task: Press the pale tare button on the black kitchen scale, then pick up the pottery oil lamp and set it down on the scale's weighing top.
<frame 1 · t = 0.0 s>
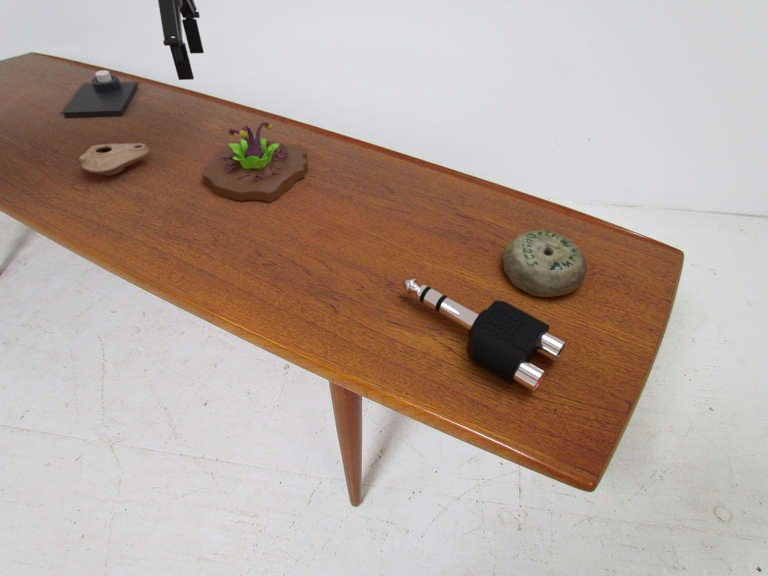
hand: (192, 65, 102), 16 cm above the table, tool pointing down, fingers open, 13 cm apart
audio adapter: (467, 332, 74), on the table
pottery oil lamp: (120, 170, 103), on the table
plant: (256, 174, 103), on the table
weight: (540, 272, 83), on the table
scale: (103, 102, 124), on the table
tare button: (103, 76, 125), point 4 cm above the table, slide at 0.1 cm
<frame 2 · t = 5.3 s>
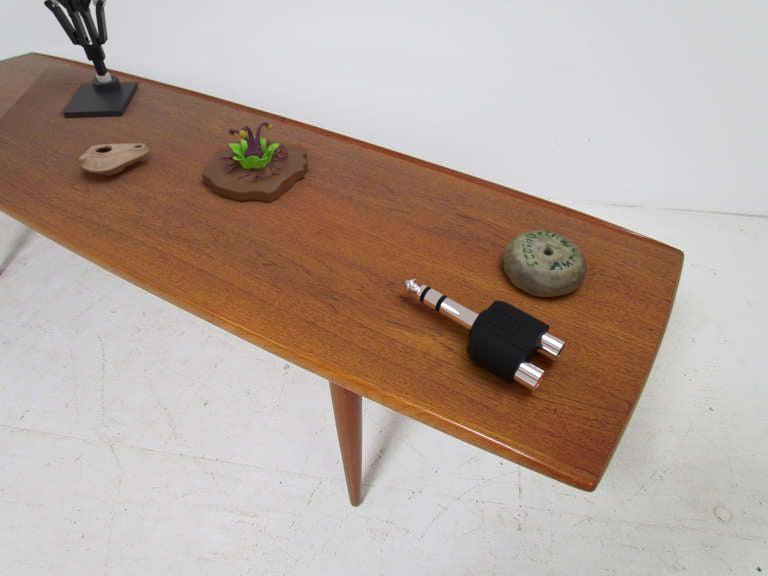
hand: (102, 73, 124), 5 cm above the table, tool pointing down, fingers closed
tare button: (104, 78, 125), point 4 cm above the table, slide at -0.3 cm, touching gripper
everything else where it was.
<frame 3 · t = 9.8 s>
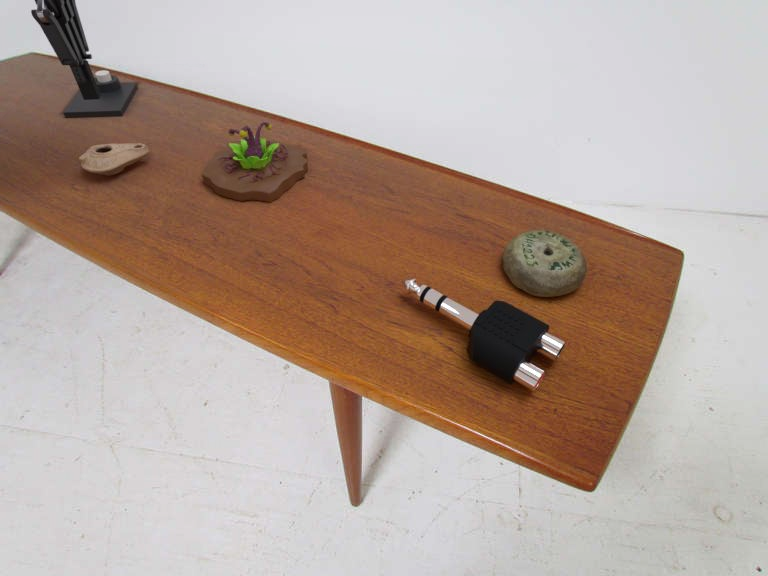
hand: (92, 97, 93), 15 cm above the table, tool pointing down, fingers closed
tare button: (103, 76, 125), point 4 cm above the table, slide at 0.1 cm
everything else where it was.
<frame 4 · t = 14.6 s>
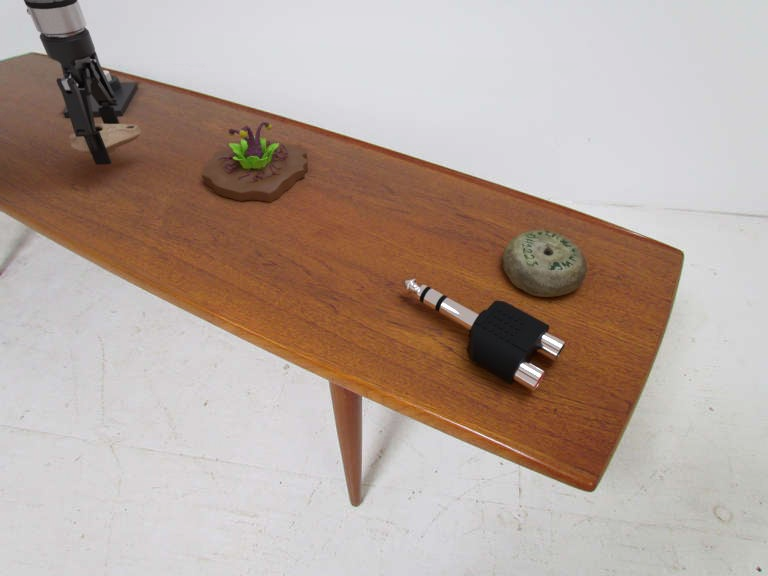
hand: (110, 150, 100), 4 cm above the table, tool pointing down, fingers closed on pottery oil lamp, 9 cm apart
pottery oil lamp: (111, 151, 100), point 4 cm above the table, touching gripper
everything else where it was.
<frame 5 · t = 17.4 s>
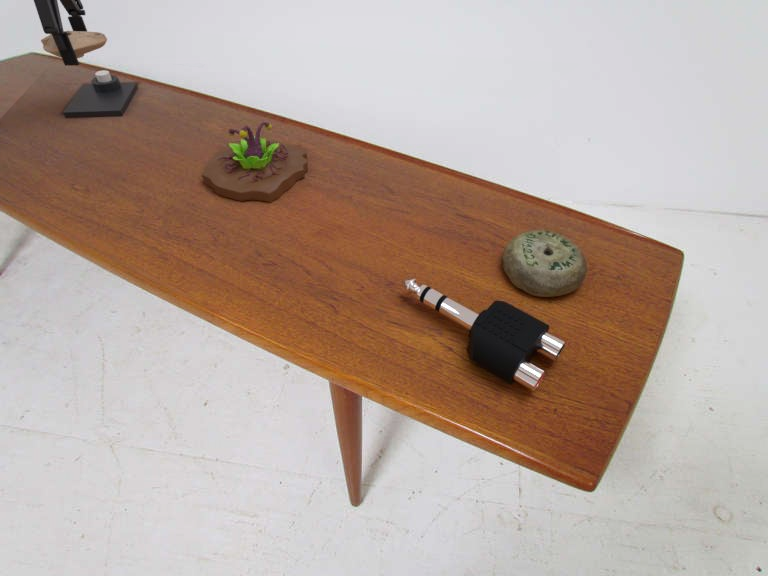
hand: (79, 56, 111), 13 cm above the table, tool pointing down, fingers closed on pottery oil lamp, 9 cm apart
pottery oil lamp: (80, 57, 111), point 13 cm above the table, touching gripper
everything else where it was.
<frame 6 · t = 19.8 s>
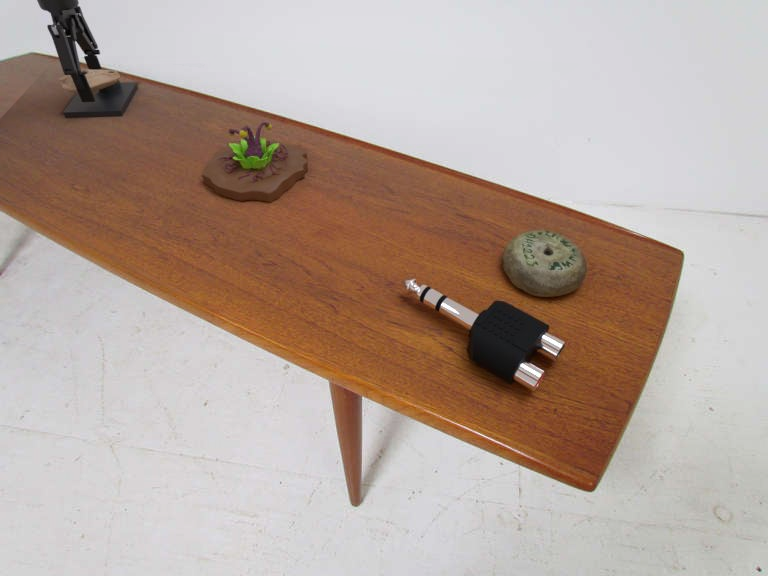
hand: (95, 92, 120), 4 cm above the table, tool pointing down, fingers closed on pottery oil lamp, 9 cm apart
pottery oil lamp: (96, 93, 120), point 3 cm above the table, touching gripper
everything else where it was.
when the fingers open (4 cm above the table, at t = 20.7 s): pottery oil lamp drops 2 cm, resting on scale.
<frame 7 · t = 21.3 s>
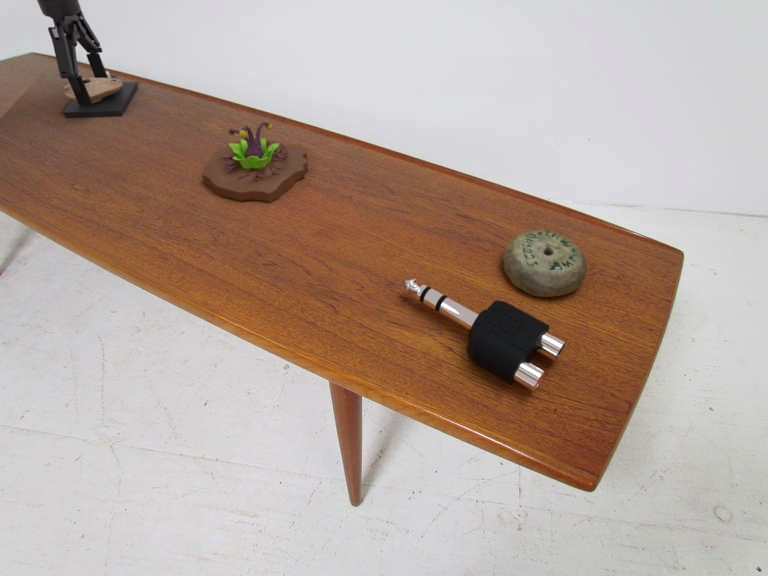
hand: (94, 93, 119), 4 cm above the table, tool pointing down, fingers open, 13 cm apart
pottery oil lamp: (98, 101, 122), point 1 cm above the table, touching scale
tare button: (103, 77, 125), point 4 cm above the table, slide at 0.0 cm, touching gripper
everything else where it was.
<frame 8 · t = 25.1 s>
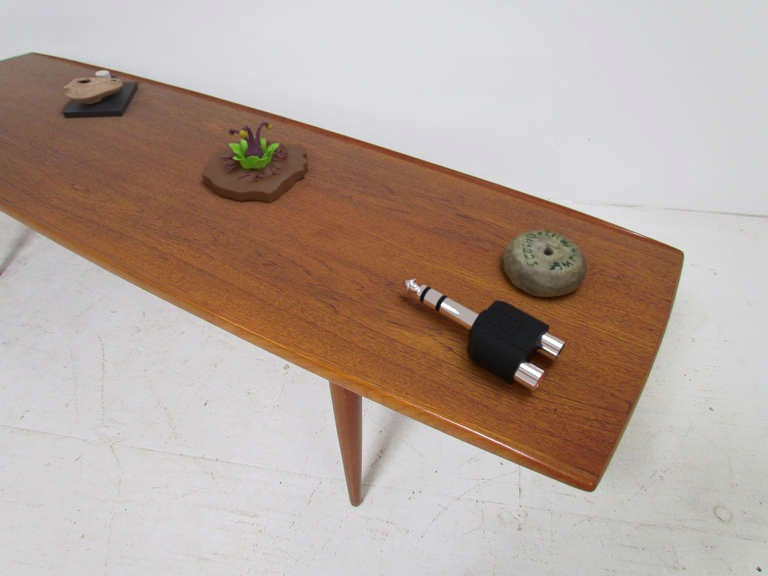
tare button: (103, 76, 125), point 4 cm above the table, slide at 0.1 cm
everything else where it was.
at the end: tare button pushed in 1.0 cm at the most during the clip, back to where it started at the end; pottery oil lamp inside the target area on the scale (0.4 cm from its centre), point 1.3 cm above the scale's base; pottery oil lamp touching scale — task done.
